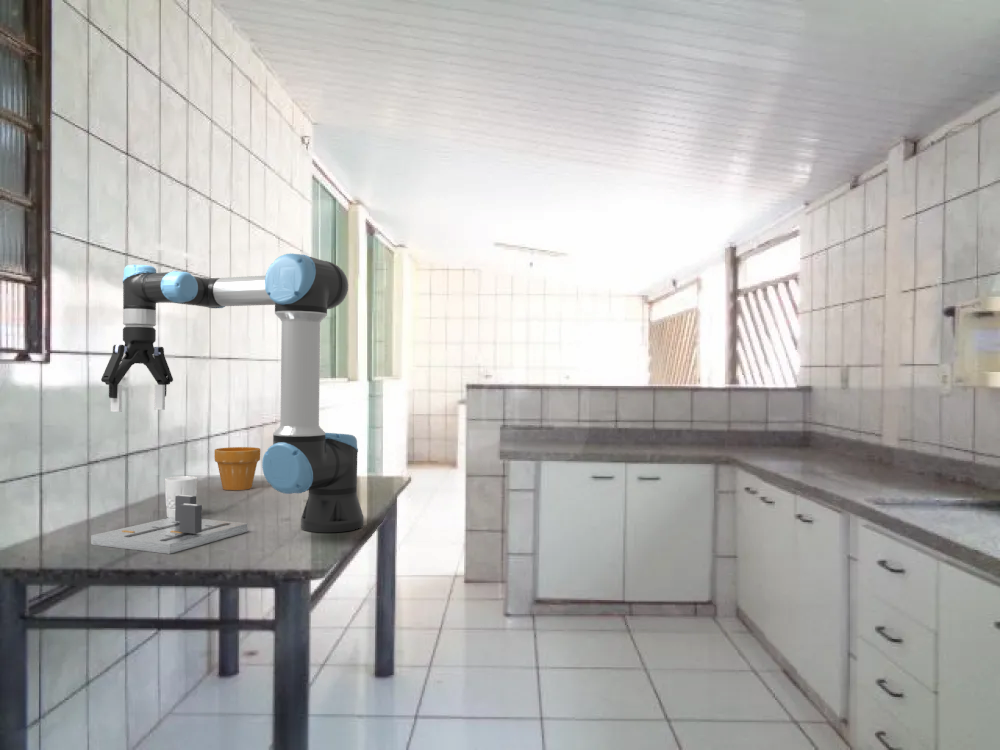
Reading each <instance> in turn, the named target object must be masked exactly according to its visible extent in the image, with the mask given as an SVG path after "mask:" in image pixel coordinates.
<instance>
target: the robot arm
mask: <svg viewBox="0 0 1000 750" xmlns="http://www.w3.org/2000/svg"><path fill="white" fill-rule="evenodd" d="M122 284H123V286H122V292H123V294H122V298H123V299H122V303H123V306H122V310H123V311H122V324H123V326H124V327H123V328H122V341H123V342H124V344H113V346H112V354H111V356H110V358H109V360H108V363H107V364H106V367H105V368H104V369H105V370H104V371H103V374H102V376H101V383H105V385H106V386H108V397H109V399H110V413H111V412H114V413H120V412H122V409H123V408H122V403H123V401H122V400H123V399H122V396H123V395H122V394H123V392H122V391H123V390H122V389H123V388H122V387H123V386H122V384H120V382H121V381H122V380H123V378H124V377H125V376H126V374H127V373H128V371H130V369H131V367H132V366H133V365H135V364H139V365H140V364H143V365H144V366H145V367H146V368H147V369H148V371H149V373H150V374H151V375H152V377H153V379H154V380H155V381H156V383H157V384H154V410H158V411H159V410H160V411H161V410H163V411H164V410H166V409H165V407H166V397H167V385H168V386H169V385H170V384H171V383H173V381H174V377H173V375H172V372H171V370H170V367H169V364H168V362H167V358H166V357H165V348H164V347H163V346H154V343H155V342H156V340H157V339H156V336H157V334H156V332H157V331H156V330H157V329H156V328H155V327H156V325H157V304H162V303H163V304H164V303H166V304H167V303H168V304H169V303H170V304H171V303H172V304H179V305H180V304H181V305H186V306H187V305H188V306H197V307H202V308H203V307H204V308H209V309H223V308H225V307H243V306H244V307H245V306H247V307H248V306H249V307H250V306H274V315H276V317H278V318H279V320H280V321H281V333H280V334H281V344H280V345H281V349H280V350H281V353H280V356H281V358H280V419H279V420H280V422H279V424H280V425H279V427H278V428H277V429H276V430H275V431H274V432H273V433H272V435H273V436H272V445H271V446H269V447H268V448H267V451H265V452H264V455H263V456H262V462H261V463H262V464H261V467H262V472H263V475H264V478H265V480H266V482H267V483H268V484H269V485H270V486H271V487H272V488H273V489H274V490H275V491H277V492H279V493H282V494H286V495H289V494H290V495H292V494H302V493H305V492H308V497H307V499H306V502H305V505H304V509H303V513H302V515H301V518H300V528H301V530H304V531H307V532H311V533H342V532H344V533H345V532H350V531H355V529H356V530H359V529H361V528H363V527H364V517H365V516H364V514H363V511H362V507H361V504H360V501H359V498H358V494H357V493H358V452H359V448H358V440H357V438H356V437H355V436H354V435H353V434H350V433H349V434H347V433H335V432H326V431H324V429H322V428H321V426H320V374H321V373H320V372H321V370H320V369H321V367H320V365H321V363H320V362H321V358H320V357H321V349H320V348H321V323H322V321H323V320H324V319H325V318H326V317H327V316H328V310H332V309H334V308H336V307H338V306H339V305H341V304H342V303H343V302H344V300H345V299H346V297H347V294H348V291H349V281H348V278H347V275H346V274H345V272H344V270H343V269H342V268H341V267H340V266H339V265H337V264H335V263H334V262H330V261H327V260H322V259H319V258H315V257H312V256H308V255H306V254H302V253H301V254H300V253H285V254H283V255H280V256H278V257H277V258H276V259H275V260H274V261H273V262H272V263H271V264H270V265H269V266H268V268H267V269H266V274H265V275H254V276H253V275H252V276H248V275H247V276H233V277H231V276H229V277H215V278H214V277H213V278H211V277H210V278H209V277H201V276H194V275H192V274H191V273H190V272H187V271H178V270H174V271H166V272H157V268H156V267H154V266H152V265H145V264H129V265H125V267H124V269H123V279H122ZM360 527H361V528H360ZM358 528H359V529H358Z"/></svg>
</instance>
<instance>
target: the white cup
mask: <svg viewBox="0 0 1000 750" xmlns="http://www.w3.org/2000/svg"><path fill="white" fill-rule="evenodd" d="M197 490H198V477H197V476H191V475H188V476H187V475H182V476H181V475H180V476H170V477H165V478H164V491H165V492H164V493H165V497H164V498H165V506H166V518H171V517H175V496H178V495H190V496H196V497H197V492H198V491H197Z"/></svg>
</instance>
